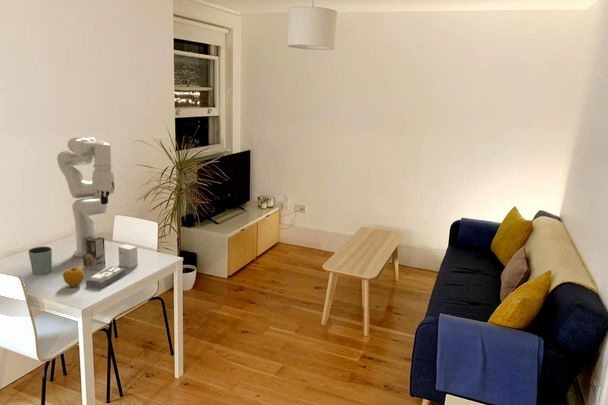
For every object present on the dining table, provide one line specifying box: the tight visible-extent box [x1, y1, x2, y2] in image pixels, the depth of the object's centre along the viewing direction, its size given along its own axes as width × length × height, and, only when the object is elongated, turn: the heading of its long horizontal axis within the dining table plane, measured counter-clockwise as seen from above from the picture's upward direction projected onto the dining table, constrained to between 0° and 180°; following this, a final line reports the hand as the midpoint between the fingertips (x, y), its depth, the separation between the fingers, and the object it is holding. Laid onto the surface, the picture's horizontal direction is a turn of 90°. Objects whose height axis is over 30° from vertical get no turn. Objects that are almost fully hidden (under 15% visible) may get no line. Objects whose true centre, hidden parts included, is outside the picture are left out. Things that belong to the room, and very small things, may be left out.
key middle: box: [102, 272, 114, 277], centre depth 225 cm, size 5×5×3 cm
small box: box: [118, 244, 139, 269], centre depth 244 cm, size 8×6×10 cm
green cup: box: [27, 246, 53, 276], centre depth 229 cm, size 10×10×12 cm
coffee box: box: [82, 235, 106, 271], centre depth 238 cm, size 9×6×16 cm
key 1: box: [90, 272, 106, 282], centre depth 219 cm, size 5×5×3 cm
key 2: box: [107, 266, 121, 273], centre depth 231 cm, size 5×5×3 cm
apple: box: [62, 267, 85, 288], centre depth 217 cm, size 9×9×9 cm
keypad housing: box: [85, 266, 127, 290], centre depth 225 cm, size 19×8×3 cm, turn 166°
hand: (104, 203), depth 231 cm, fingers closed
